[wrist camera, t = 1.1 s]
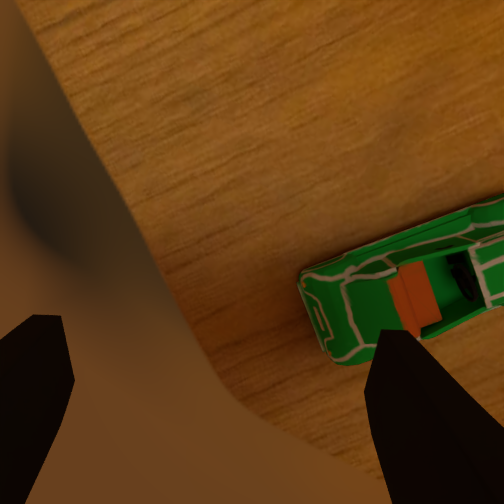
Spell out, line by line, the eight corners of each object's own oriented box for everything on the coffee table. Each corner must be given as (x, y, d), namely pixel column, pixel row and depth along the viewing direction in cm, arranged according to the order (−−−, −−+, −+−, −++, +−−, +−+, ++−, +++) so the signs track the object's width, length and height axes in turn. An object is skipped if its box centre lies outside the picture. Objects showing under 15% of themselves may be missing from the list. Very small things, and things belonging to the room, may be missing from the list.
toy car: (522, 181, 21) (586, 180, 17) (551, 277, 22) (620, 300, 18) (291, 268, 22) (296, 288, 18) (325, 357, 23) (338, 397, 19)
